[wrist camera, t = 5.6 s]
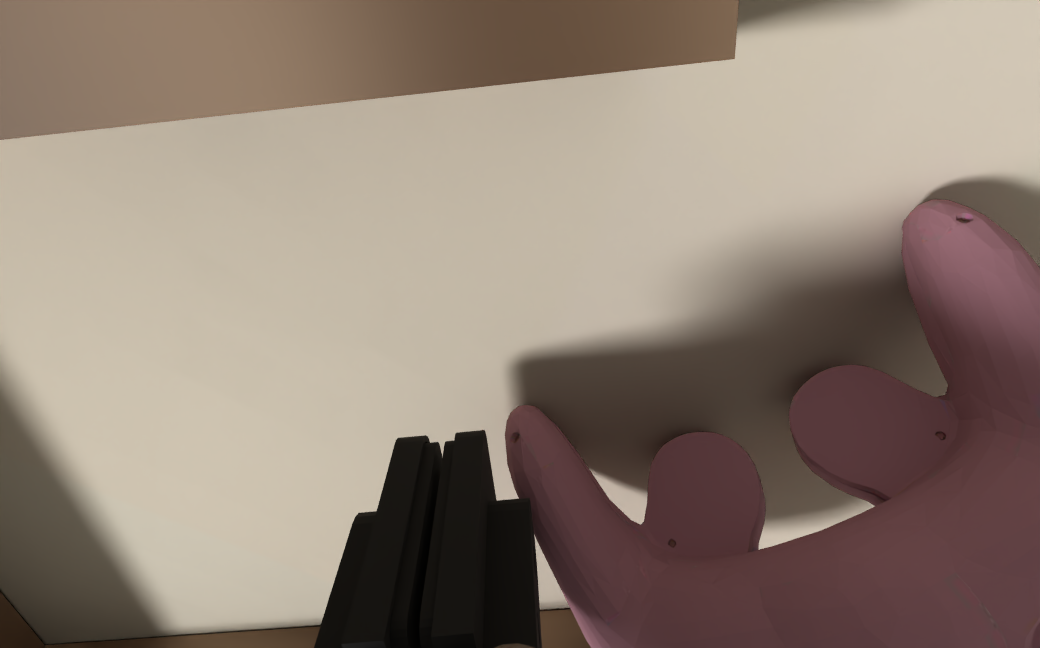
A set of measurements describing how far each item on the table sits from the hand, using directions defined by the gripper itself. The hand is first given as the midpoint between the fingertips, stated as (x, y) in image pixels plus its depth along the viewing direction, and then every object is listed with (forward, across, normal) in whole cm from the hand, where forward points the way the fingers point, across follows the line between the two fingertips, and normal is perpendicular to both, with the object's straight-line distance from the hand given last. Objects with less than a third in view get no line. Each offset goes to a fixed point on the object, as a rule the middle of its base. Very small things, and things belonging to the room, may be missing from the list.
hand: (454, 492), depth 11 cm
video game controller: (+2, -6, 0) cm, 7 cm away
